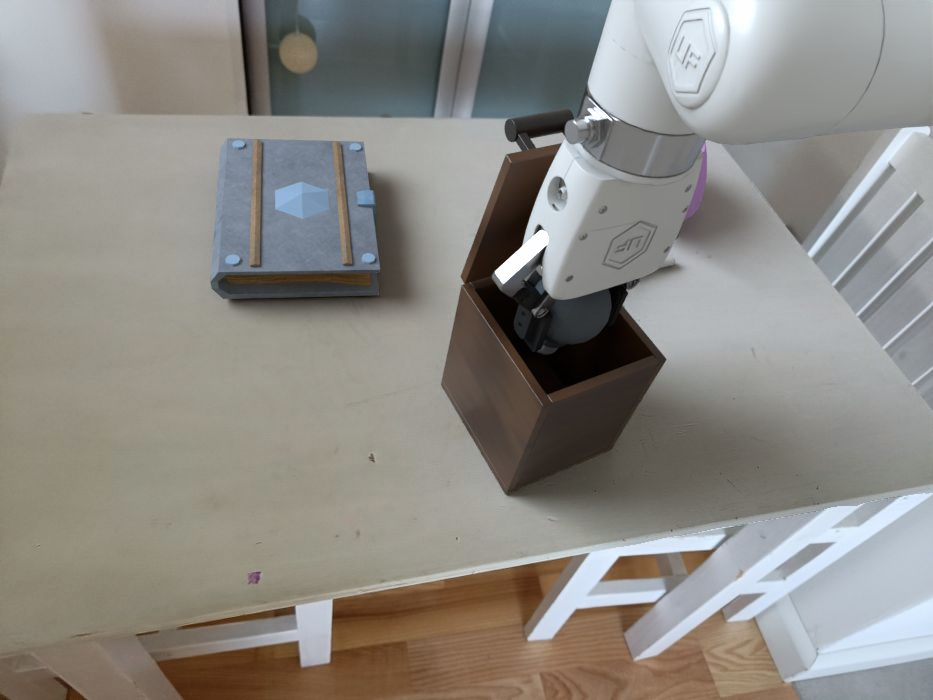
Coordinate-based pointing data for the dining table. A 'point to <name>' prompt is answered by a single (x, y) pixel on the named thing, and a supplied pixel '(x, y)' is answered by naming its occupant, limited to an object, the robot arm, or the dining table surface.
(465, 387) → the chest
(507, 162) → the lid
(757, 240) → the dining table surface
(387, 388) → the dining table surface
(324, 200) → the book
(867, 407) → the dining table surface
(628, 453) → the dining table surface
